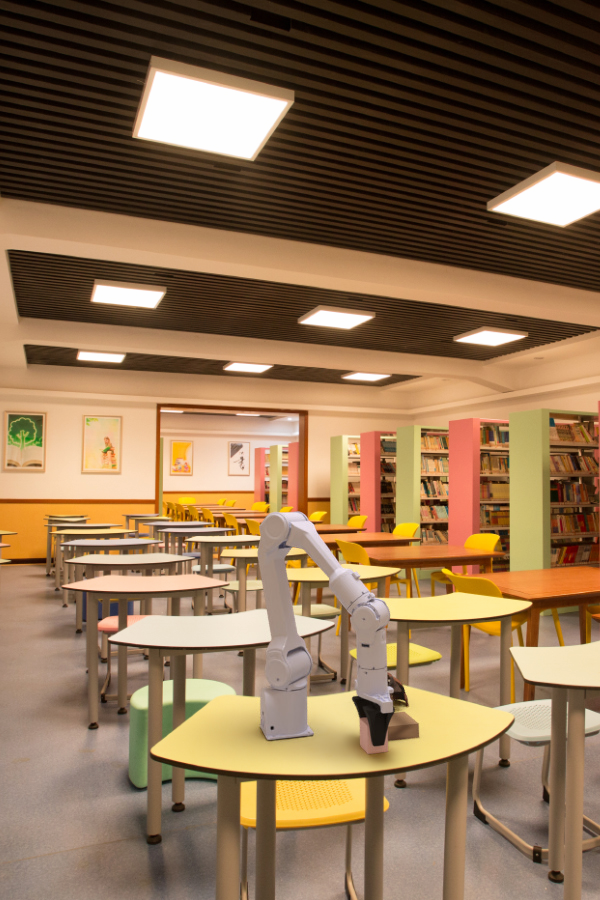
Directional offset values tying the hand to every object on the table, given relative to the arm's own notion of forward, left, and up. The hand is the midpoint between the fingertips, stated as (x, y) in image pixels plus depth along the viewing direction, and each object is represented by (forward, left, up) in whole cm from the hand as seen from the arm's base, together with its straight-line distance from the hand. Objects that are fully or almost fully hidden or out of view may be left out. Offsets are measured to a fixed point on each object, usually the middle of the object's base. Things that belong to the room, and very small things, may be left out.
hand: (373, 740), depth 110 cm
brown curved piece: (+12, +23, -2) cm, 26 cm away
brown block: (+7, +6, -2) cm, 9 cm away
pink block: (0, 0, -1) cm, 1 cm away
